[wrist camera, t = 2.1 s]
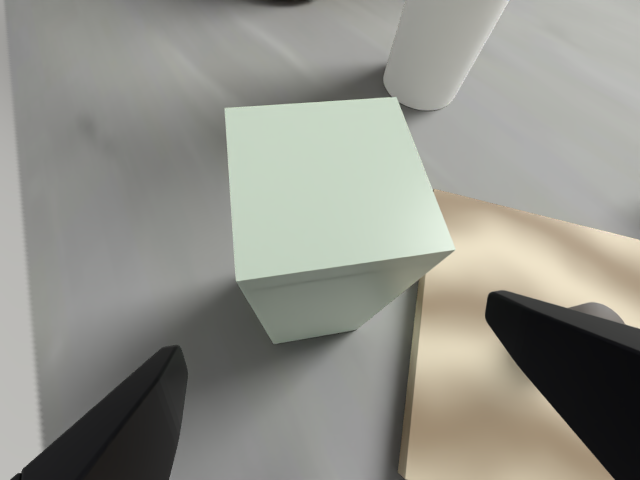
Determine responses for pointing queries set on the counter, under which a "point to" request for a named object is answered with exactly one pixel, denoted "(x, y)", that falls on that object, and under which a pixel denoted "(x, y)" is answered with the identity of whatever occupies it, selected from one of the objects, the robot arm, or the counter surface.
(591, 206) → the counter surface
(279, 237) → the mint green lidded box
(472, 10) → the cylindrical container
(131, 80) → the counter surface
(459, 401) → the post base
